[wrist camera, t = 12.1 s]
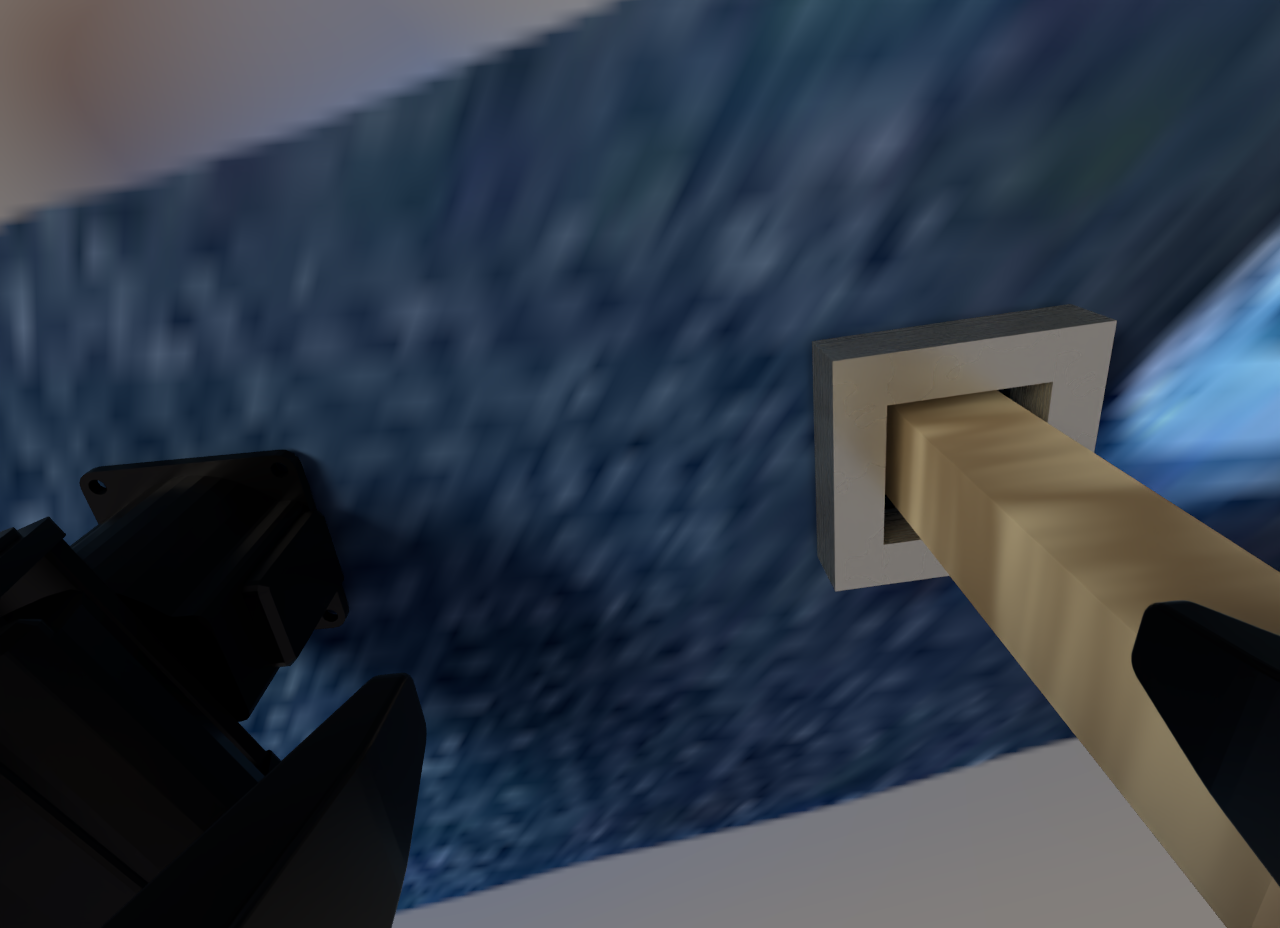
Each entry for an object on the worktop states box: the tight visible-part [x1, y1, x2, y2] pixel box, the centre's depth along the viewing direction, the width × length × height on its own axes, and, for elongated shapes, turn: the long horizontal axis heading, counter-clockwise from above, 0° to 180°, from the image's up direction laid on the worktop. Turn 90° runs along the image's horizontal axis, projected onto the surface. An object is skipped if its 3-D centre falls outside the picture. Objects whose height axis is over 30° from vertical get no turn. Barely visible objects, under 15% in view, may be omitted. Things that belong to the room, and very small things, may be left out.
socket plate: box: [812, 304, 1117, 591], centre depth 21 cm, size 8×8×2 cm
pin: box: [885, 390, 1280, 928], centre depth 15 cm, size 3×3×14 cm
